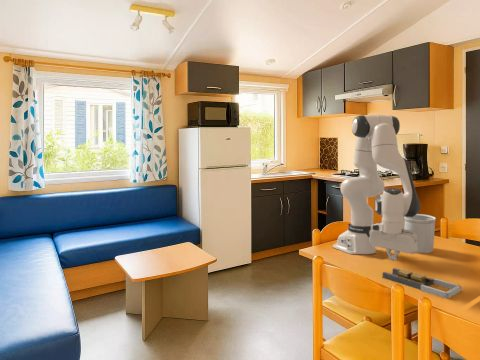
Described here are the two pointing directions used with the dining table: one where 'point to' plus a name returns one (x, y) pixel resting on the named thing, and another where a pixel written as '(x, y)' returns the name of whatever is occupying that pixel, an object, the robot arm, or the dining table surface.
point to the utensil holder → (422, 231)
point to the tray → (448, 294)
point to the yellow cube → (419, 278)
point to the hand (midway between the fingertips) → (392, 259)
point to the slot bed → (406, 281)
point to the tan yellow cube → (405, 274)
